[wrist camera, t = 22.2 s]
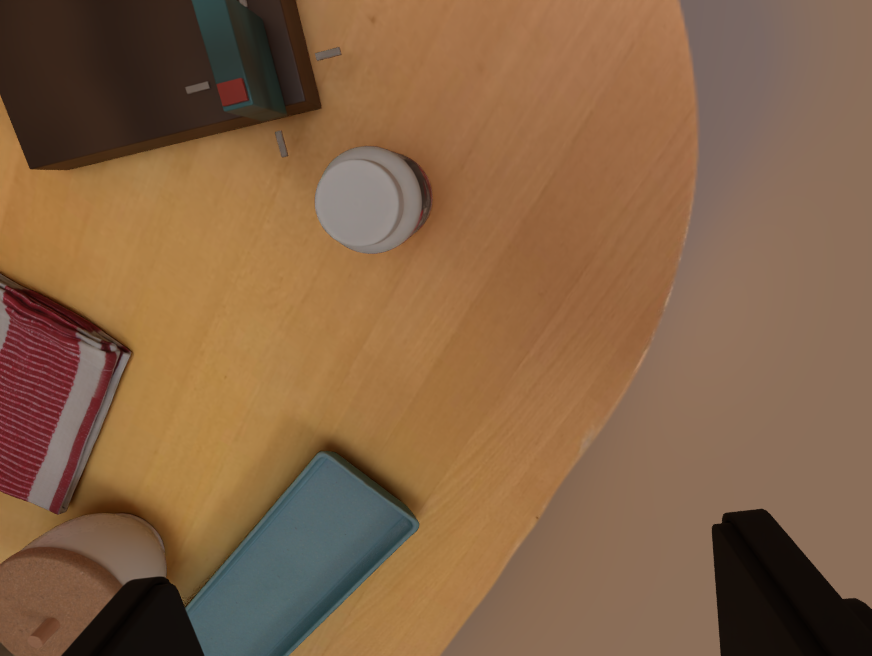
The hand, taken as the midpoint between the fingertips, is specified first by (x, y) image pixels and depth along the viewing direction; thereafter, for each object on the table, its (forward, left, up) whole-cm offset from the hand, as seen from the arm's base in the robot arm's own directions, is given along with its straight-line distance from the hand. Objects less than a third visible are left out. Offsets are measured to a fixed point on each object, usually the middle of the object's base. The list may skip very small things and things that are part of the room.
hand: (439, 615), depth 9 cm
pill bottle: (+4, -7, -26) cm, 28 cm away
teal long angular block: (+9, -15, -23) cm, 29 cm away
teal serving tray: (+20, +20, -26) cm, 39 cm away
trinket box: (+32, +16, -26) cm, 45 cm away
